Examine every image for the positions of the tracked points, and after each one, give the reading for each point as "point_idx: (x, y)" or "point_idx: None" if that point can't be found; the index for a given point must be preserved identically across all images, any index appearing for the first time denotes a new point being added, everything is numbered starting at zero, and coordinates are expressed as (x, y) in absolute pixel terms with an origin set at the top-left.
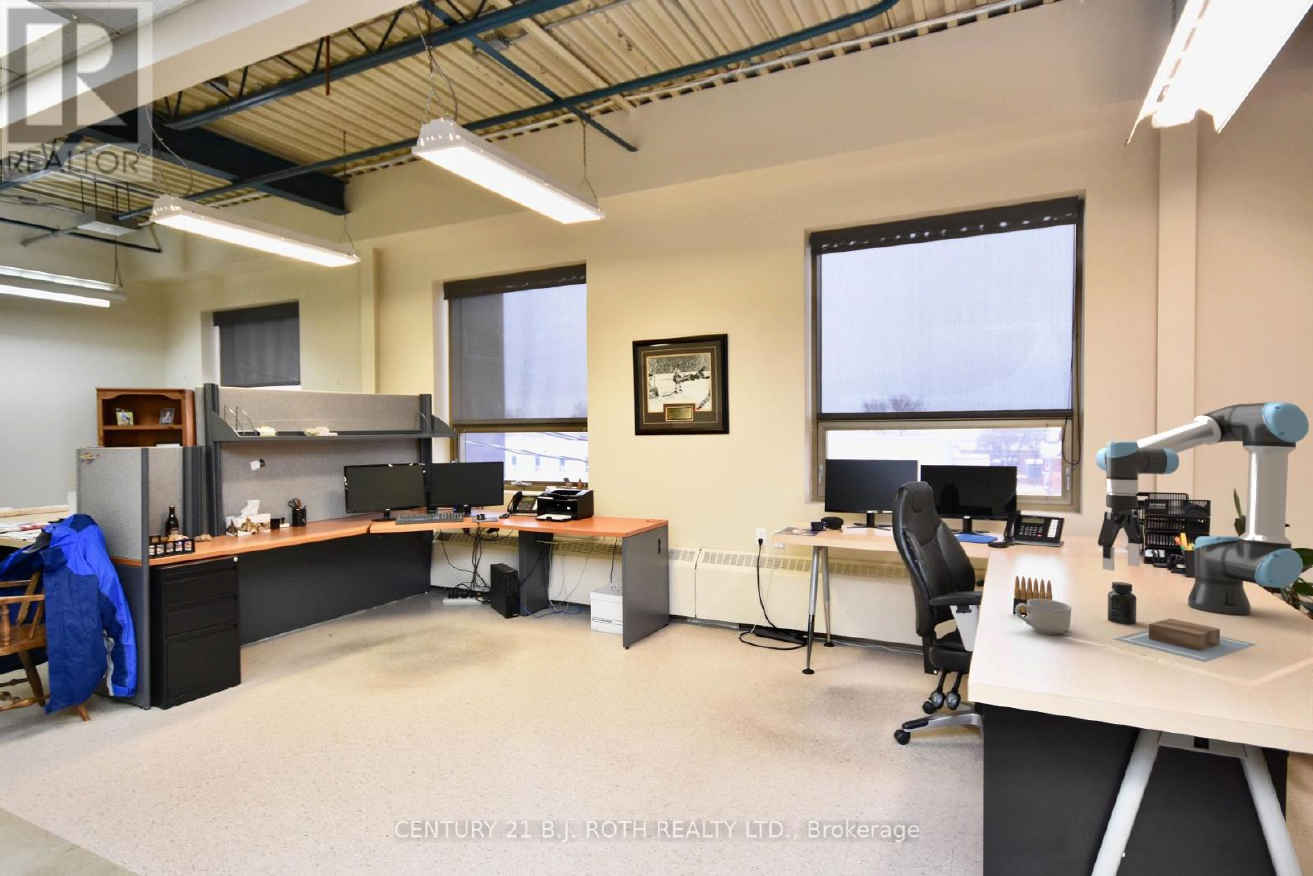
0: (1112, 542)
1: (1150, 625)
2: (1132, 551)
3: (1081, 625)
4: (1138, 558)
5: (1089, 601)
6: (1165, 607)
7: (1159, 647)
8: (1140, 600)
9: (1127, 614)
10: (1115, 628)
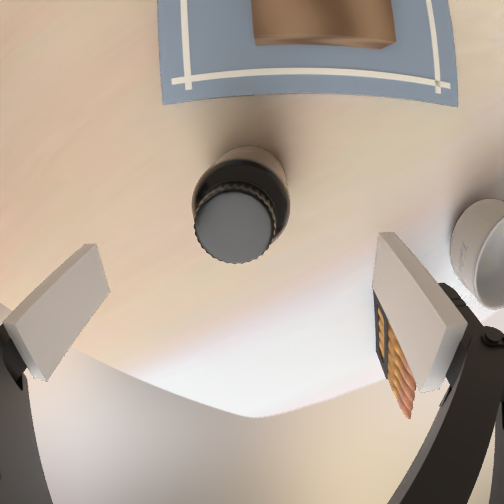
0: (489, 361)
1: (394, 38)
2: (61, 321)
3: (360, 230)
4: (67, 266)
5: (105, 341)
6: (3, 240)
7: (431, 13)
8: (9, 292)
9: (271, 159)
10: (307, 168)
